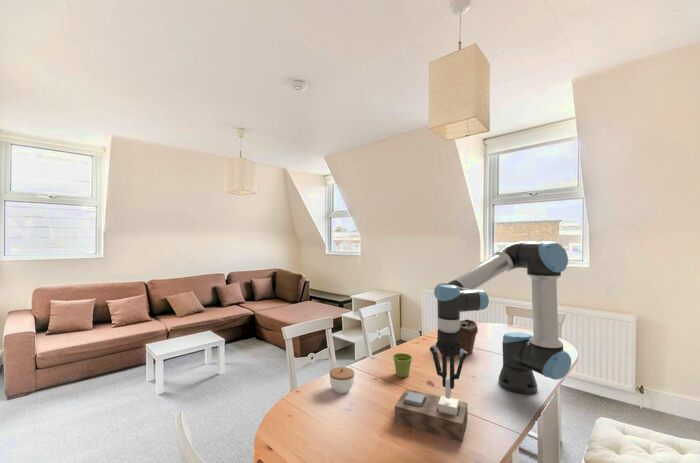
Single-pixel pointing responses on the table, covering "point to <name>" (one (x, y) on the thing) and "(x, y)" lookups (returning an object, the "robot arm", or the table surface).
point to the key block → (432, 417)
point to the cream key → (448, 406)
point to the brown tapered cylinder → (467, 335)
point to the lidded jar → (341, 379)
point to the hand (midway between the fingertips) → (448, 396)
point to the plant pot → (402, 364)
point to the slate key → (415, 399)
